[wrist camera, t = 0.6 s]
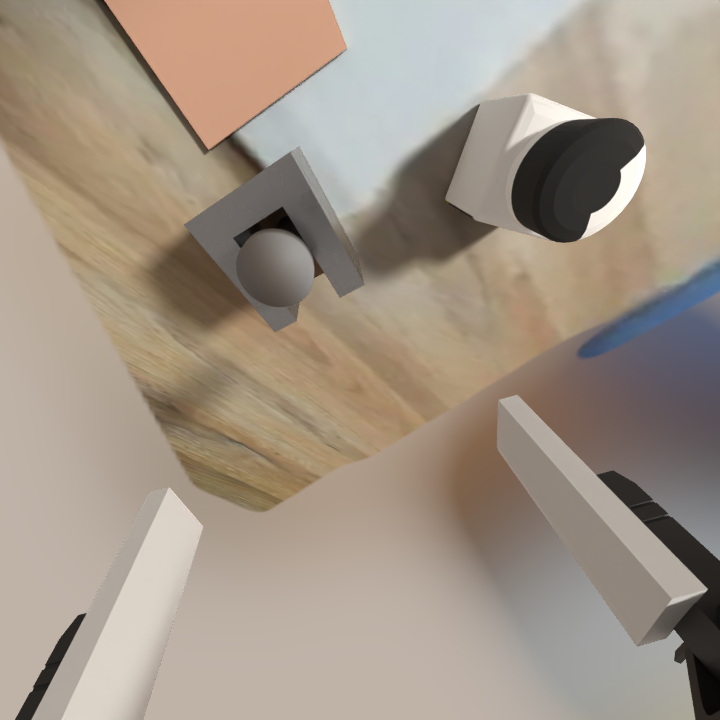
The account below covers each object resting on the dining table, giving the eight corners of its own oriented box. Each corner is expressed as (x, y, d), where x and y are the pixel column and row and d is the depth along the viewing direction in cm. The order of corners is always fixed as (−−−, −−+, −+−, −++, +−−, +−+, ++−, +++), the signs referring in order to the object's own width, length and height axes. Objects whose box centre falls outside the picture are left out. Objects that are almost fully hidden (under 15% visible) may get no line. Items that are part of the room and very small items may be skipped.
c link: (215, 203, 21) (183, 224, 17) (299, 146, 20) (290, 152, 15) (284, 294, 26) (275, 332, 21) (356, 254, 24) (364, 284, 20)
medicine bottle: (442, 201, 27) (505, 240, 18) (480, 99, 23) (587, 79, 14) (511, 220, 29) (602, 266, 19) (558, 128, 25) (703, 128, 15)
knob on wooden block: (293, 150, 24) (266, 168, 13) (343, 241, 29) (353, 310, 18) (242, 184, 25) (179, 227, 14) (298, 267, 30) (282, 346, 19)
